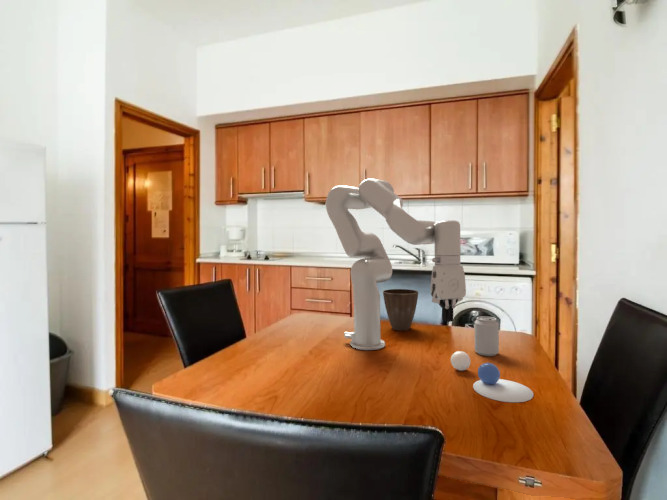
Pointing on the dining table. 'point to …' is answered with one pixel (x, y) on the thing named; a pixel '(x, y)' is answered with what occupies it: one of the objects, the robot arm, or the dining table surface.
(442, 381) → the dining table surface
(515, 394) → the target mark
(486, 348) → the can
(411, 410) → the dining table surface
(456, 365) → the cue ball
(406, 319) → the plant pot
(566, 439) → the dining table surface
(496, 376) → the object ball
